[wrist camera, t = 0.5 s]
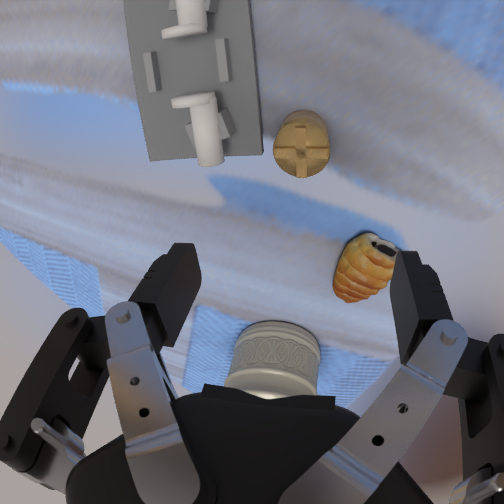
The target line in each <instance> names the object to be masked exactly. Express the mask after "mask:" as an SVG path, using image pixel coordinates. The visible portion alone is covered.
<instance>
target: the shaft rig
mask: <svg viewBox="0 0 504 504" xmlns="http://www.w3.org/2000/svg"><path fill="white" fill-rule="evenodd" d="M124 10H125V19H126V27H127V35H128V42H129V49H130V56H131V63H132V69H133V75H134V82H135V87H136V93H137V99H138V104H139V110H140V115H141V120H142V125H143V130H144V135H145V140H146V145H147V149H148V154H149V159H150V161H160V160H172V159H185V158H197V159H198V165H199V166H201V167H212V166H216V165H219V164H222V163H223V162H224V156H245V155H246V156H247V155H262V154H263V152H264V149H263V136H262V124H261V113H260V101H259V90H258V79H257V68H256V57H255V47H254V37H253V27H252V17H251V7H250V0H124Z"/></svg>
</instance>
